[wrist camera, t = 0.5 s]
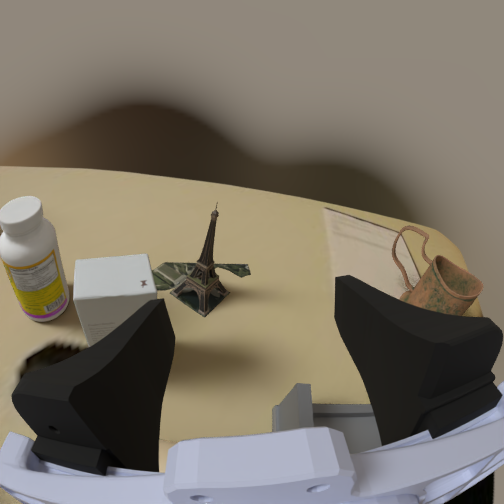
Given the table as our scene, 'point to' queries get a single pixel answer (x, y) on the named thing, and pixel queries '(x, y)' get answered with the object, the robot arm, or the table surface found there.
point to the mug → (440, 284)
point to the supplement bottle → (33, 259)
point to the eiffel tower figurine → (198, 277)
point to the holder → (328, 418)
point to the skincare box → (111, 292)
